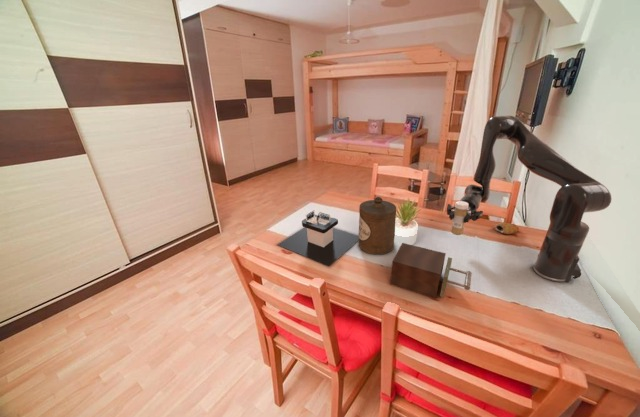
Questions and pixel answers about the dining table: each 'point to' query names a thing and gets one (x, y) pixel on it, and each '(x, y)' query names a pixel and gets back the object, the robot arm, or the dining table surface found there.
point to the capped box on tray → (320, 239)
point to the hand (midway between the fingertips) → (458, 219)
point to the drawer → (445, 281)
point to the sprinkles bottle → (459, 217)
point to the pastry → (506, 228)
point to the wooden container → (377, 226)
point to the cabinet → (417, 269)
